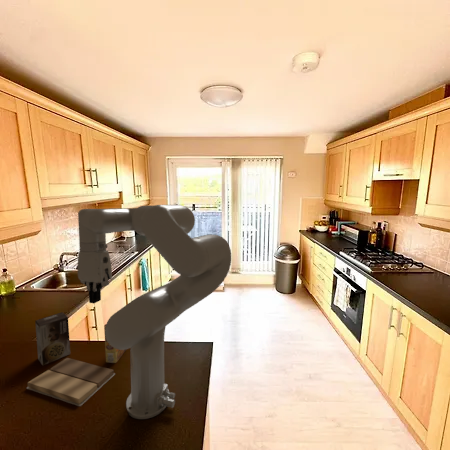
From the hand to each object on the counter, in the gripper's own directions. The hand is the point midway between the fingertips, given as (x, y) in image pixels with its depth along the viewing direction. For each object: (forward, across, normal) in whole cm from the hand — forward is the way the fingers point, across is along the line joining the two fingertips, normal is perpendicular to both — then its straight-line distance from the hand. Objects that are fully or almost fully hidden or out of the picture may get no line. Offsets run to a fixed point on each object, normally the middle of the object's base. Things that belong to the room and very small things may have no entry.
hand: (95, 301), depth 79 cm
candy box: (+27, +2, -11) cm, 30 cm away
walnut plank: (+26, +6, +1) cm, 27 cm away
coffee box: (+27, +24, -3) cm, 36 cm away
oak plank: (+26, +6, +8) cm, 28 cm away
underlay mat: (+27, +6, +4) cm, 28 cm away
